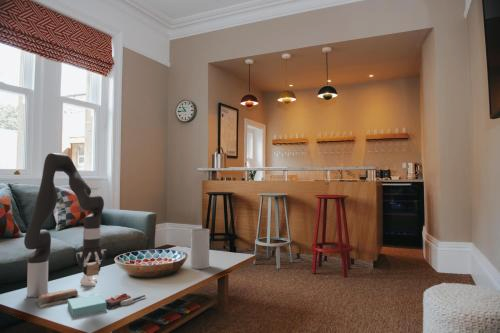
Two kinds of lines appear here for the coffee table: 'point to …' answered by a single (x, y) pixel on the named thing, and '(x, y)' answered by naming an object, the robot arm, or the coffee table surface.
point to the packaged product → (57, 297)
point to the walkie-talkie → (120, 300)
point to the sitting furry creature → (88, 280)
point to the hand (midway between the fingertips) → (91, 272)
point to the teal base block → (86, 305)
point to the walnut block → (92, 269)
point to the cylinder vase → (199, 248)
